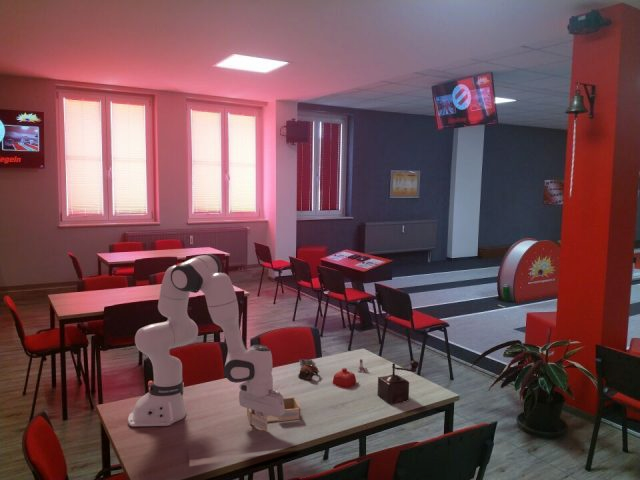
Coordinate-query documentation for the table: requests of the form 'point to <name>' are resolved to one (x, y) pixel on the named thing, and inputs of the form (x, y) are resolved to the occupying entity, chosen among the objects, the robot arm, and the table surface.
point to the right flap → (290, 414)
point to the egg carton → (307, 362)
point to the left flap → (258, 422)
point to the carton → (288, 404)
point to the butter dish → (344, 379)
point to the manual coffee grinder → (395, 386)
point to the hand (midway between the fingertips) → (261, 422)
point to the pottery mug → (309, 374)
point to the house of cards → (361, 367)
